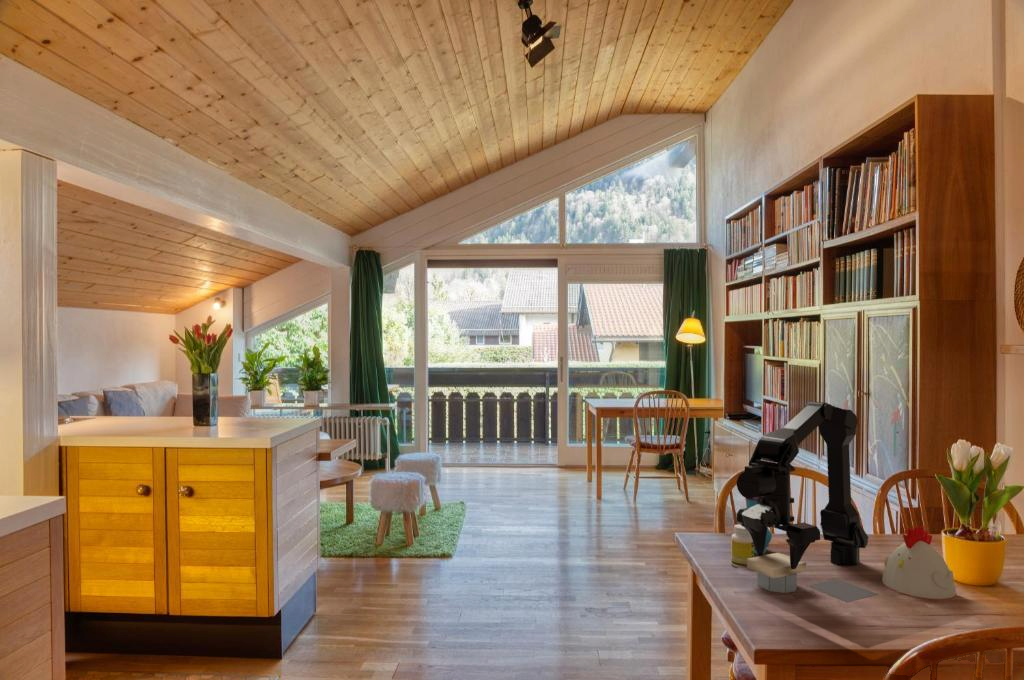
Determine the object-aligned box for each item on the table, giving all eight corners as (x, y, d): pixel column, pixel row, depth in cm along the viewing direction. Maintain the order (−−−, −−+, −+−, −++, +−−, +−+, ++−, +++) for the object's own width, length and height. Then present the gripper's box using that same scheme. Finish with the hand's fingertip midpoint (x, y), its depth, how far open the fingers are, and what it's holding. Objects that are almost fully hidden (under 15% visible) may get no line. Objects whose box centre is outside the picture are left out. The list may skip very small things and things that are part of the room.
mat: (837, 585, 146) (837, 578, 146) (878, 601, 137) (878, 594, 137) (806, 592, 141) (806, 585, 141) (847, 609, 132) (847, 602, 132)
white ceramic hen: (868, 586, 145) (867, 521, 145) (910, 579, 150) (910, 515, 150) (926, 610, 132) (926, 538, 132) (971, 601, 137) (971, 532, 137)
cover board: (778, 561, 147) (778, 552, 147) (806, 571, 140) (806, 562, 140) (746, 567, 143) (746, 558, 143) (773, 578, 136) (773, 569, 136)
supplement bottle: (755, 570, 155) (755, 530, 155) (732, 568, 156) (732, 528, 157) (752, 562, 161) (752, 524, 161) (729, 561, 162) (729, 522, 162)
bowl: (775, 583, 147) (775, 561, 147) (804, 595, 140) (803, 572, 140) (749, 588, 143) (749, 566, 144) (777, 601, 136) (777, 578, 136)
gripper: (718, 487, 147) (718, 554, 147) (784, 506, 130) (784, 582, 130) (754, 483, 151) (754, 548, 151) (821, 500, 135) (822, 574, 134)
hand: (776, 562), depth 142 cm, fingers open, 9 cm apart
